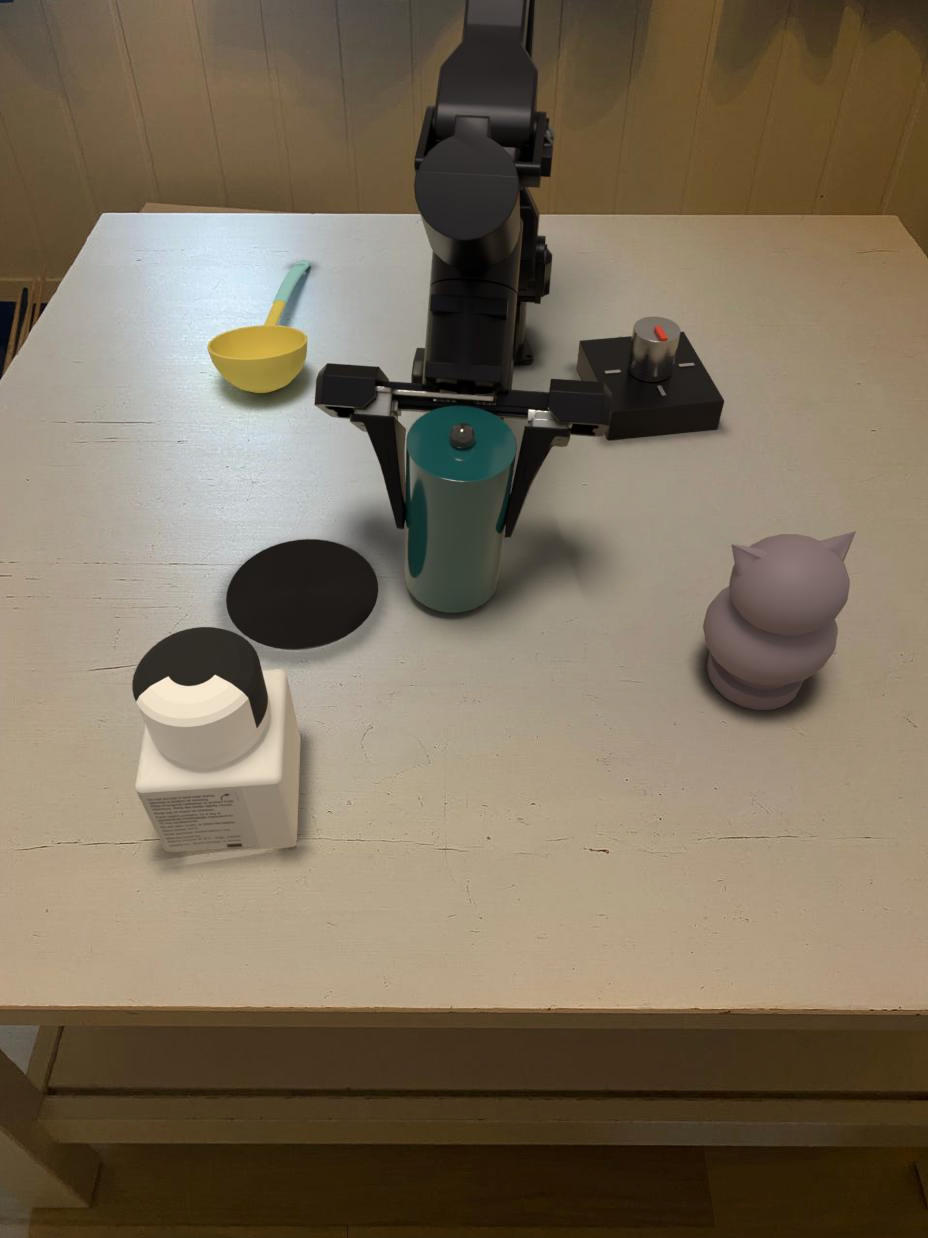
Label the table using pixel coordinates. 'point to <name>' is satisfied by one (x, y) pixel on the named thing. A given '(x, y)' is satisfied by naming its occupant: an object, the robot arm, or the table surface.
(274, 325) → the ladle
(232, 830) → the container
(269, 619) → the disc
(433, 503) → the teal lidded canister
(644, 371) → the knob
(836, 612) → the cat figurine
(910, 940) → the table surface
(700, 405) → the panel
